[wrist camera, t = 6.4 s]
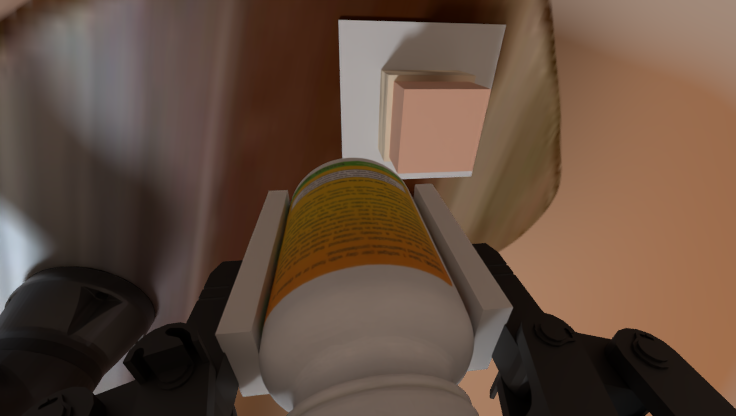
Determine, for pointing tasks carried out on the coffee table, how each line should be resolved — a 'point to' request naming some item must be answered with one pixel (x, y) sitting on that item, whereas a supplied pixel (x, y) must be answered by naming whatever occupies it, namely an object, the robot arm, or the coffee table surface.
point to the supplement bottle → (363, 304)
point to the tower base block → (387, 96)
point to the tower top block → (436, 125)
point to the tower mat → (404, 52)
